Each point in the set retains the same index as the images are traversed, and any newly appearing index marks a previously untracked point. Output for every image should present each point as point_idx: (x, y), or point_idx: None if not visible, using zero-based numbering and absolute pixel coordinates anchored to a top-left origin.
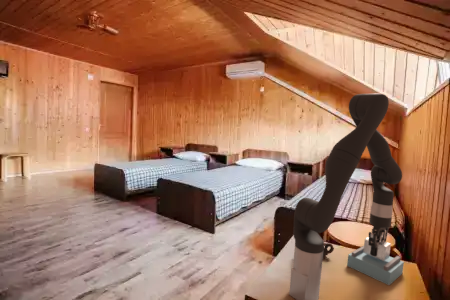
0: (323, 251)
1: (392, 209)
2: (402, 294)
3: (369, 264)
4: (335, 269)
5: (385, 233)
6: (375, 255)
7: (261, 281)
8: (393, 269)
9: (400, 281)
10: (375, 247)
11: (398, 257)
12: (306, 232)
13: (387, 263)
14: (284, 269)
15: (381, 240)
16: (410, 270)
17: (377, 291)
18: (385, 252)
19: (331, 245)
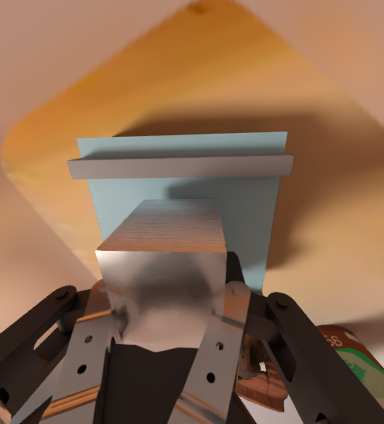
0: None
1: None
2: (296, 62)
3: (269, 232)
4: (305, 284)
5: (66, 414)
6: (226, 247)
7: None
8: (230, 138)
9: (186, 115)
10: (275, 292)
11: (88, 166)
12: None
13: (236, 175)
14: None
15: (118, 313)
16: (48, 125)
17: (353, 142)
18: (215, 222)
19: (248, 364)
